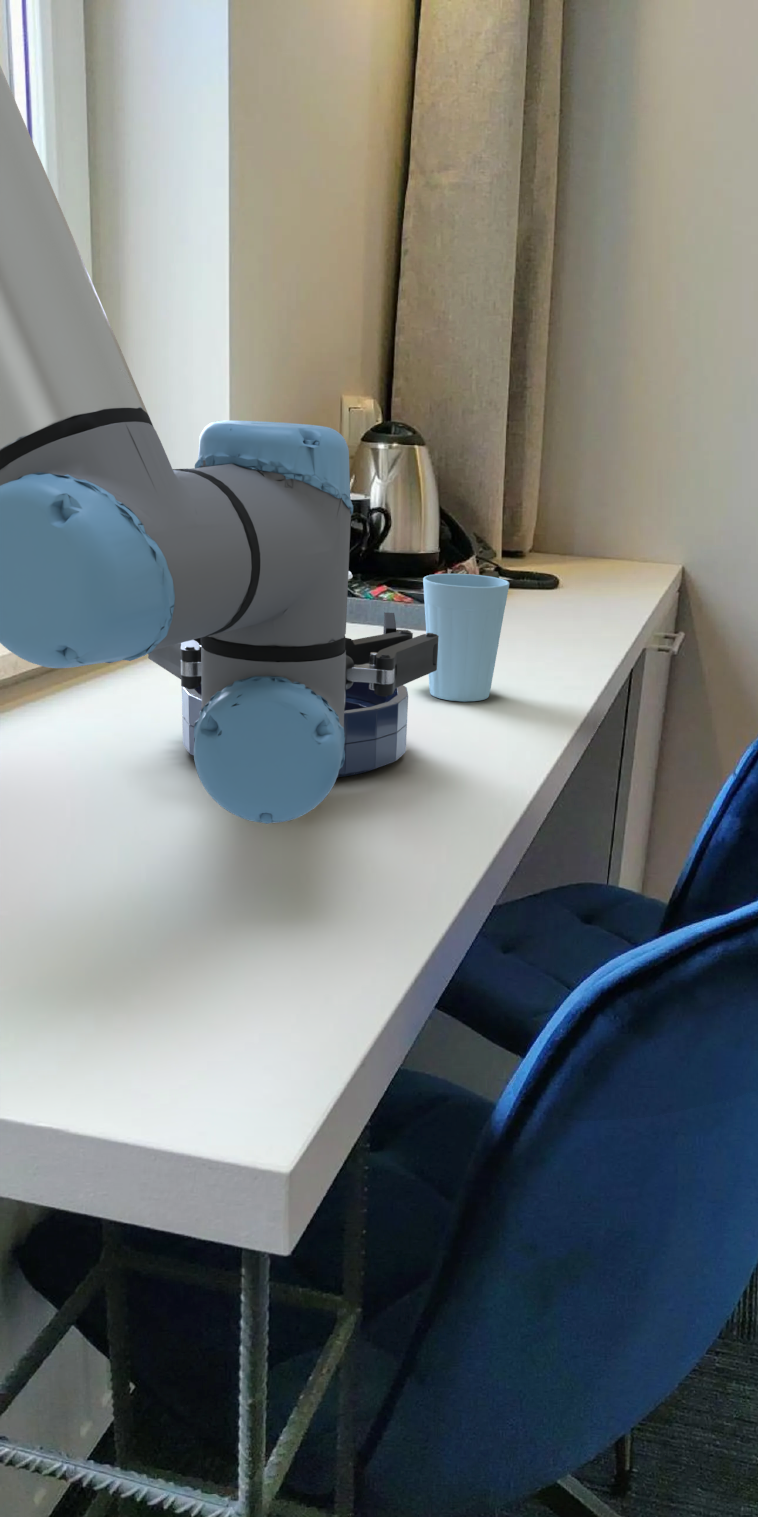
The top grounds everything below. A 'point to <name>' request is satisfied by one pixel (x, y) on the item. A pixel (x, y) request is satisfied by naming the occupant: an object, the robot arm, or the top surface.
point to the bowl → (367, 726)
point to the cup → (464, 632)
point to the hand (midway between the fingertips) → (298, 626)
